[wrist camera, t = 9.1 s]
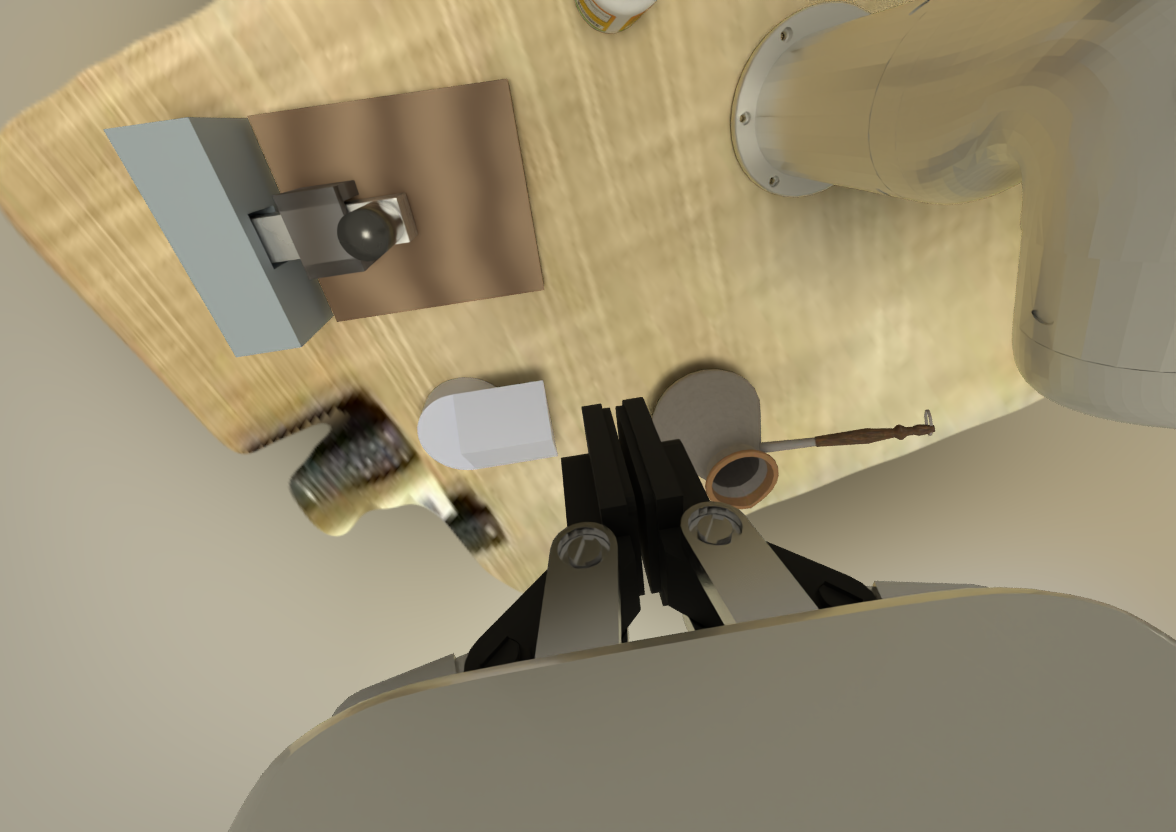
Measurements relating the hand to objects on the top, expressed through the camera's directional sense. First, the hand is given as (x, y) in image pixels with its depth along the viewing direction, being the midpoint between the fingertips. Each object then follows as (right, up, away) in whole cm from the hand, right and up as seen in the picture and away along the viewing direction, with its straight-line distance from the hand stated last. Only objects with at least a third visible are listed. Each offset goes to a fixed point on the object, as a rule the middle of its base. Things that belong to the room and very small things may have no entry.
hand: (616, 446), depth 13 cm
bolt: (-20, +15, +23) cm, 34 cm away
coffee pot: (+16, +4, +38) cm, 41 cm away
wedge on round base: (-11, +1, +36) cm, 38 cm away
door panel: (-15, +18, +25) cm, 34 cm away
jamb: (-27, +16, +25) cm, 40 cm away
